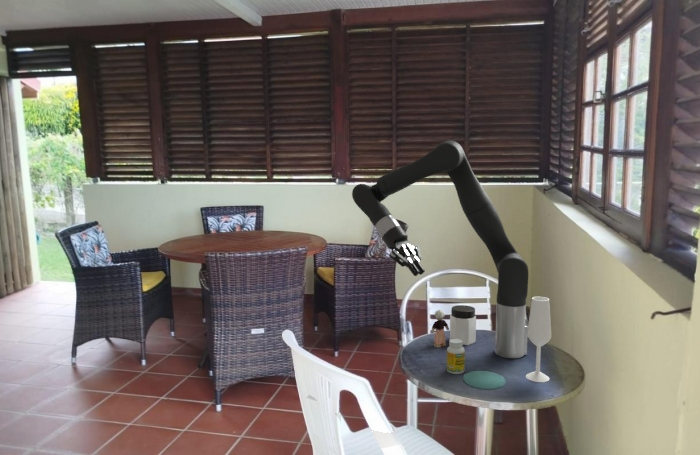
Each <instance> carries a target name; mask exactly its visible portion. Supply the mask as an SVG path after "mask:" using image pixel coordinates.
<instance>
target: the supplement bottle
mask: <svg viewBox="0 0 700 455" xmlns="http://www.w3.org/2000/svg"><path fill="white" fill-rule="evenodd" d="M448 344H449V346H448V347H447V348H446V371H447V372H448V373H449V374H454V375H459V374H463V373H464V372H465V367H466V366H465V360H466V358H465V356H466V350H465V348H464V345H463V341H462V340H460V339H451V340H450V339H449V343H448Z"/></svg>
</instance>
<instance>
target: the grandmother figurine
mask: <svg viewBox="0 0 700 455" xmlns="http://www.w3.org/2000/svg"><path fill="white" fill-rule="evenodd" d="M434 316H435V319H436V321H435V322H433V325H432V326H431V330H430V333H431V334H433V333H434V338H433V340H434V345H433V347H435V348H442V347H446V346H447V344H446V333H445V330H446V331H450V327H449V325H448V323H447V322H446V320H445V319H444V317H445V316H446V314H445V311H443V310H441V309H438V310H436V311H435V313H434Z"/></svg>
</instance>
